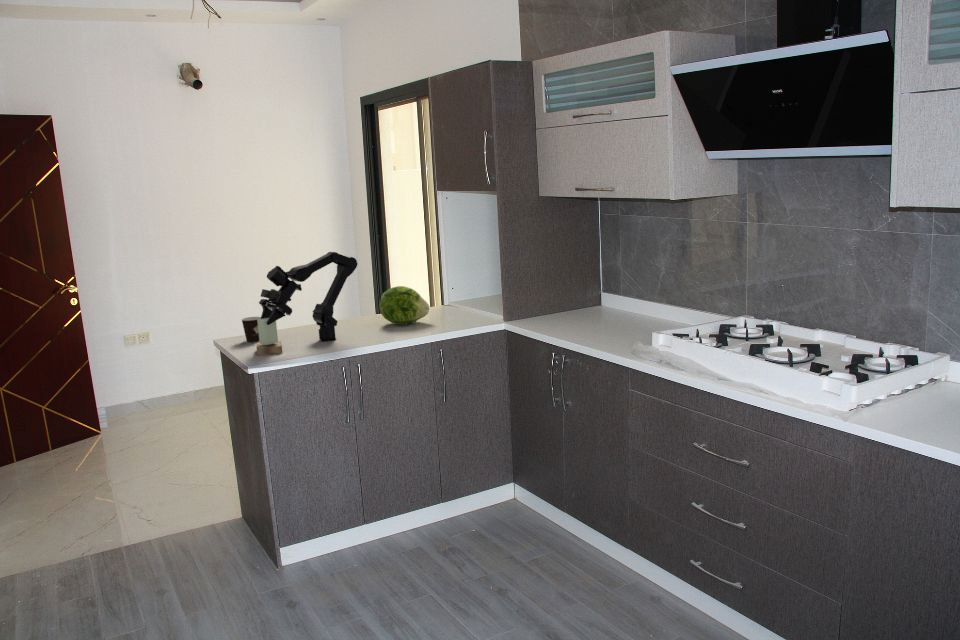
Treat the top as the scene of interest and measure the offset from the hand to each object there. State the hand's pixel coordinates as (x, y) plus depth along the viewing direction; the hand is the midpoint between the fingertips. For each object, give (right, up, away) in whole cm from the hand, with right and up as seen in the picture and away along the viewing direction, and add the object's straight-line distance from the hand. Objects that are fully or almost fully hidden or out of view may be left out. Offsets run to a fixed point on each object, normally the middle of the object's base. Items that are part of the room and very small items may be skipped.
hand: (263, 323), depth 327 cm
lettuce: (+54, 0, +48) cm, 73 cm away
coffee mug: (-10, -8, +28) cm, 30 cm away
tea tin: (+1, -8, +3) cm, 9 cm away
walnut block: (+2, -12, +3) cm, 13 cm away
